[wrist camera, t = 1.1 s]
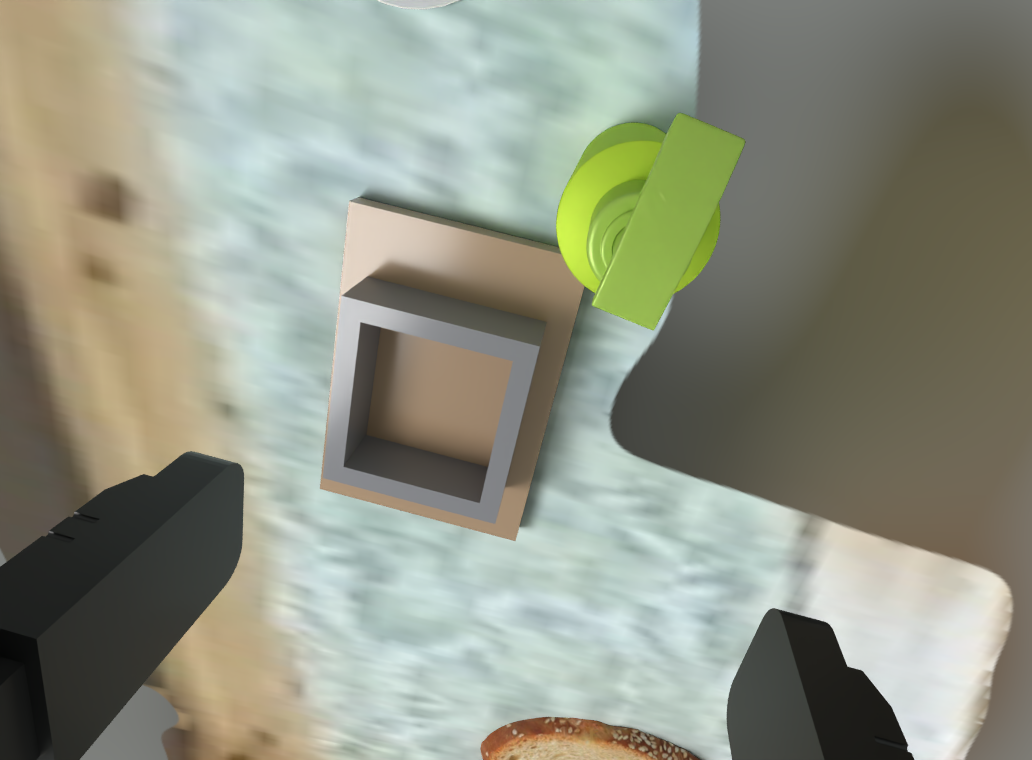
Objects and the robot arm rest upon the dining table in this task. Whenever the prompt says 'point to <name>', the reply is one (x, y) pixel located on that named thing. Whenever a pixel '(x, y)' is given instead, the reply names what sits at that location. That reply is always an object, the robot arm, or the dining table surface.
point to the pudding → (418, 3)
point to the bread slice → (576, 742)
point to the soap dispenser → (645, 213)
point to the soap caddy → (444, 366)
